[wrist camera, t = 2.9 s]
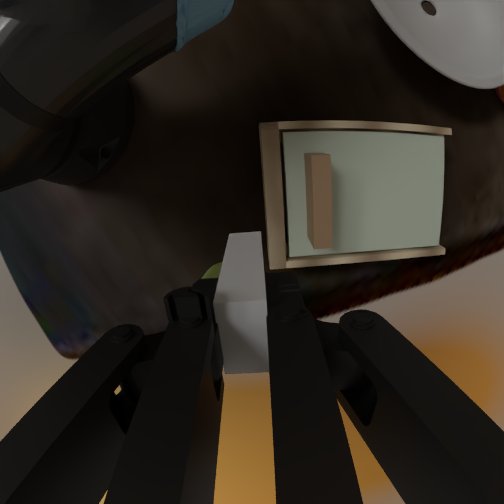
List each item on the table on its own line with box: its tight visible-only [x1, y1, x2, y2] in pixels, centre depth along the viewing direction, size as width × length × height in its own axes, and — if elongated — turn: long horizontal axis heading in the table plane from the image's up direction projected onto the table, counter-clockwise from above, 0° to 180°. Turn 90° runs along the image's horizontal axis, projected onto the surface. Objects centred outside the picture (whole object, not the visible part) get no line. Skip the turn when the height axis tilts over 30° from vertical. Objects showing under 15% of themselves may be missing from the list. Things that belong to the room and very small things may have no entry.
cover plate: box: [282, 131, 444, 257], centre depth 27 cm, size 17×12×5 cm
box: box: [259, 120, 452, 269], centre depth 30 cm, size 20×14×6 cm
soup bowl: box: [371, 0, 504, 89], centre depth 21 cm, size 24×24×7 cm
